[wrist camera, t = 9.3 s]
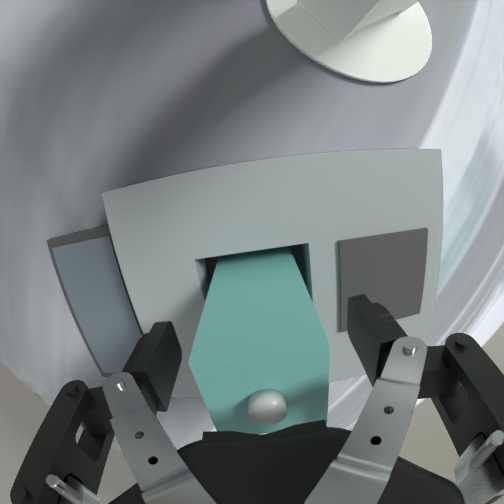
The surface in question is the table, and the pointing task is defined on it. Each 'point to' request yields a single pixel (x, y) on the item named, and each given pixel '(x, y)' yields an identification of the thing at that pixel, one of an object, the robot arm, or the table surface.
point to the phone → (97, 295)
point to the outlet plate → (287, 239)
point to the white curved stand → (358, 35)
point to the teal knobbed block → (260, 346)
